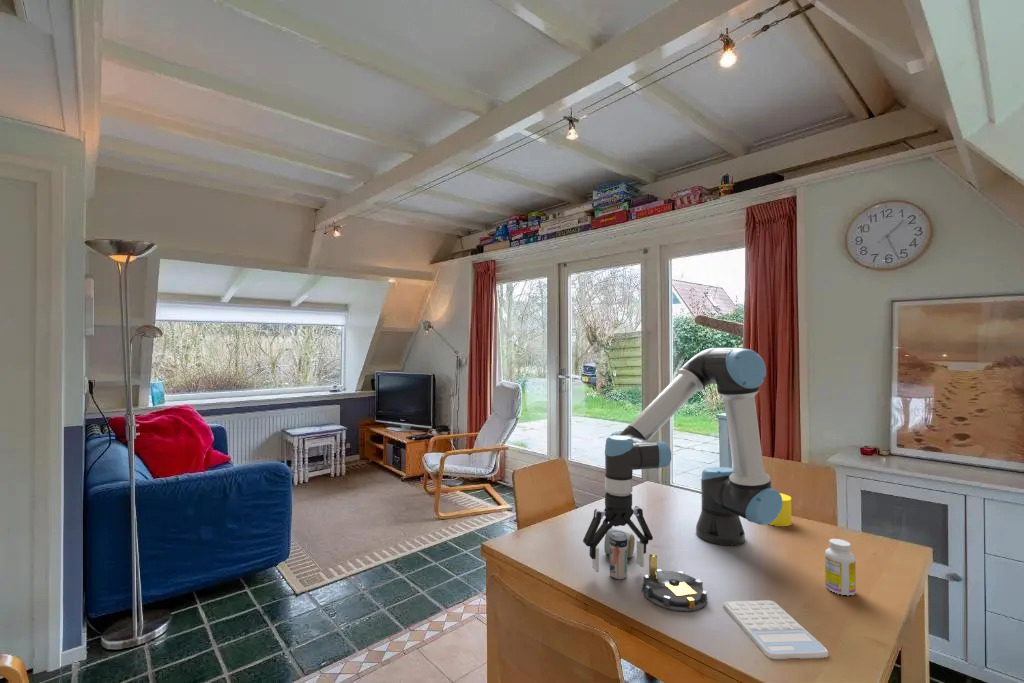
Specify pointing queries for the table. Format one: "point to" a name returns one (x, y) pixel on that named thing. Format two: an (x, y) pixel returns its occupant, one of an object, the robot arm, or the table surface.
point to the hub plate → (674, 608)
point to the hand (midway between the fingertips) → (618, 567)
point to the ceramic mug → (629, 542)
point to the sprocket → (673, 586)
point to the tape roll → (784, 512)
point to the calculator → (774, 630)
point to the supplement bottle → (840, 568)
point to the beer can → (618, 555)
